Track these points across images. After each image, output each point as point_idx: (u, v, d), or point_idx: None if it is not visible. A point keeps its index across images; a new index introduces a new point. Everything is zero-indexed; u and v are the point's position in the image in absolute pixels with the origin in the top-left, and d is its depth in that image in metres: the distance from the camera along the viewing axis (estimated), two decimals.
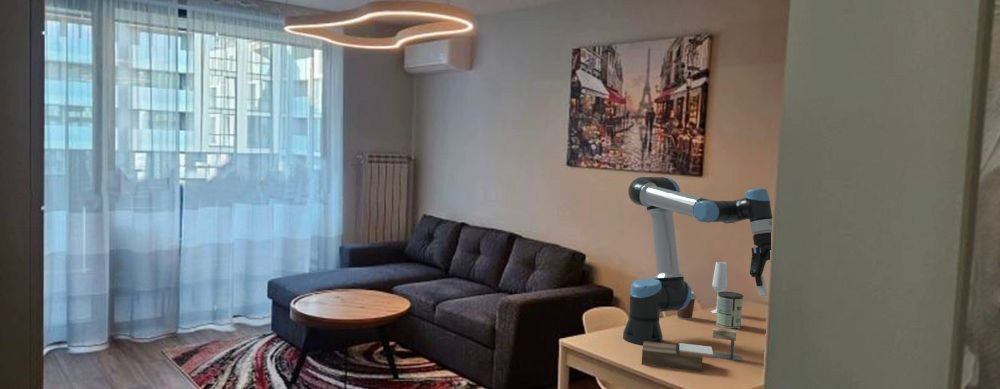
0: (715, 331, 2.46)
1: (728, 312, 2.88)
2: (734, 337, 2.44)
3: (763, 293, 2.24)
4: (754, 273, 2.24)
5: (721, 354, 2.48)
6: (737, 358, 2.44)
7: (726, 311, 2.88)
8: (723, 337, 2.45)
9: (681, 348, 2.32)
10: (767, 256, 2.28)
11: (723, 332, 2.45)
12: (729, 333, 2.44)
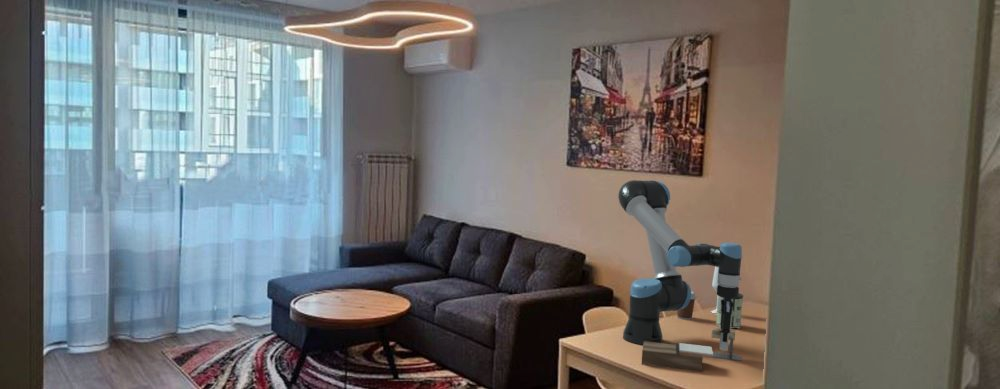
0: (714, 331, 2.46)
1: None
2: (733, 337, 2.44)
3: (725, 348, 2.44)
4: (727, 331, 2.41)
5: (720, 354, 2.48)
6: (736, 358, 2.44)
7: None
8: None
9: (681, 348, 2.32)
10: None
11: None
12: None
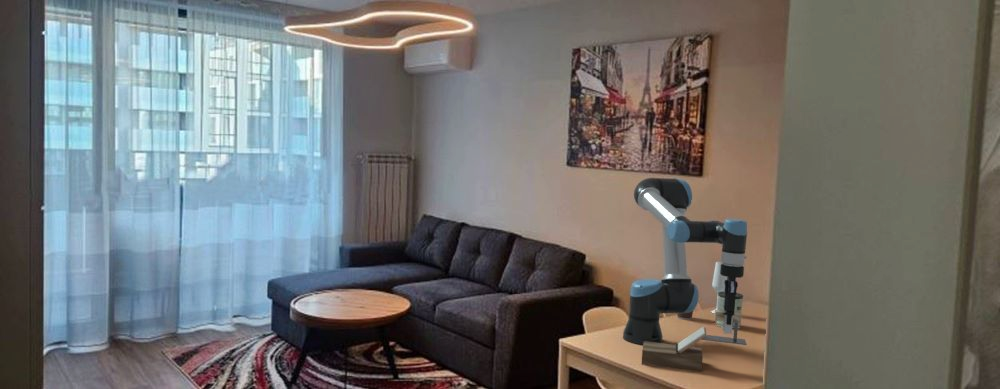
0: (717, 313, 2.30)
1: None
2: (738, 319, 2.28)
3: (729, 331, 2.28)
4: (731, 313, 2.25)
5: (724, 338, 2.32)
6: (741, 342, 2.28)
7: None
8: None
9: (679, 347, 2.33)
10: None
11: None
12: None
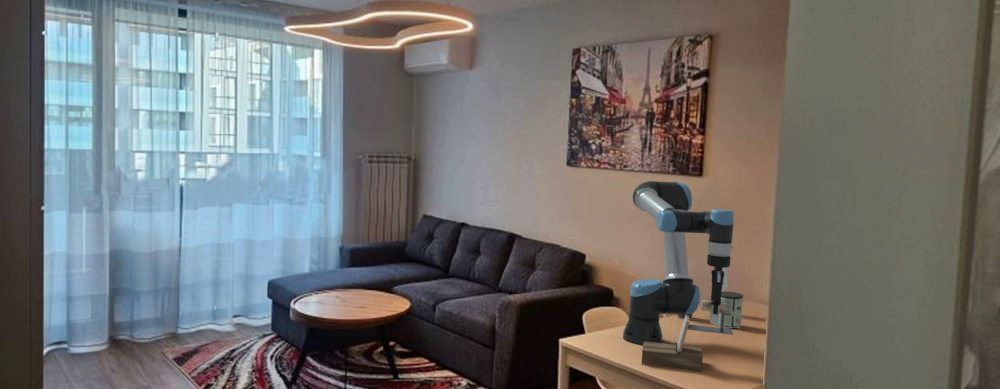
0: (704, 303, 2.30)
1: (728, 312, 2.88)
2: (724, 309, 2.29)
3: (716, 321, 2.29)
4: (718, 303, 2.26)
5: (711, 327, 2.33)
6: (727, 331, 2.29)
7: (726, 311, 2.88)
8: None
9: (677, 347, 2.33)
10: (722, 281, 2.28)
11: None
12: None
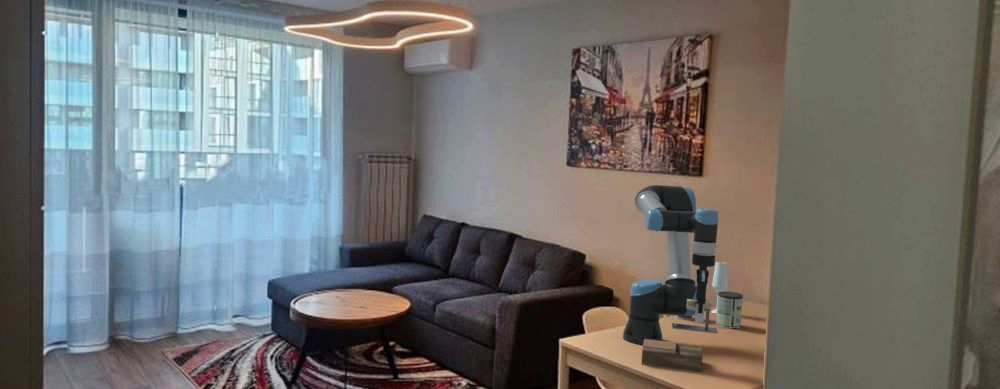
0: (689, 302, 2.32)
1: (728, 312, 2.88)
2: (709, 308, 2.30)
3: (701, 320, 2.30)
4: (702, 302, 2.27)
5: (696, 326, 2.35)
6: (712, 330, 2.31)
7: (726, 311, 2.88)
8: None
9: None
10: (707, 280, 2.30)
11: None
12: None
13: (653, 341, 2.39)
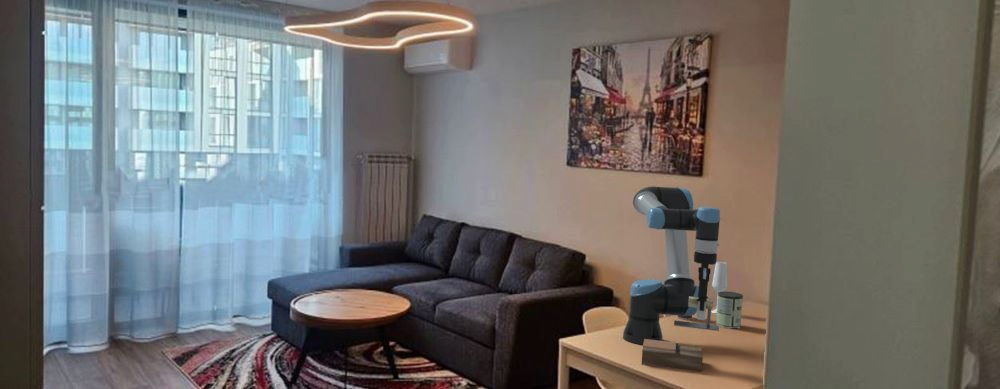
0: (691, 299, 2.34)
1: (728, 312, 2.88)
2: (711, 305, 2.32)
3: (702, 317, 2.32)
4: (704, 299, 2.29)
5: (697, 324, 2.36)
6: (714, 328, 2.32)
7: (726, 311, 2.88)
8: None
9: None
10: None
11: None
12: None
13: (653, 341, 2.39)
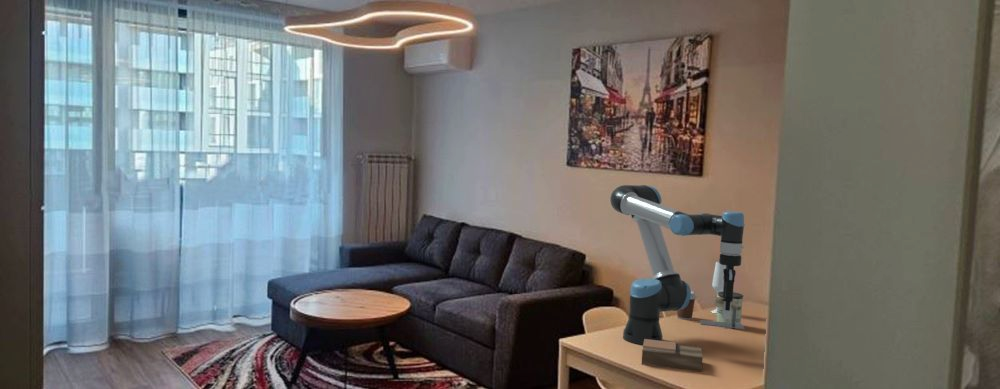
0: (717, 299, 2.45)
1: None
2: (736, 305, 2.43)
3: (728, 317, 2.43)
4: (730, 300, 2.40)
5: (723, 323, 2.47)
6: (739, 326, 2.43)
7: None
8: None
9: None
10: None
11: None
12: None
13: (653, 341, 2.39)
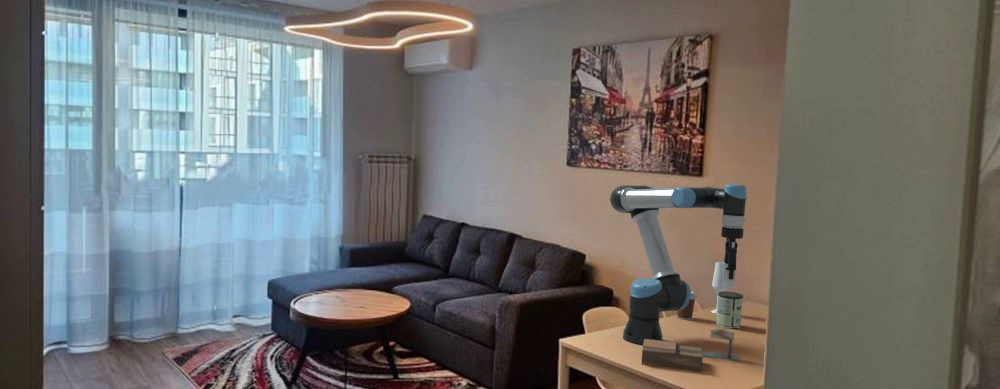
0: (713, 331, 2.46)
1: (728, 312, 2.88)
2: (732, 337, 2.44)
3: (731, 286, 2.38)
4: (733, 268, 2.35)
5: (719, 354, 2.48)
6: (735, 358, 2.44)
7: (726, 311, 2.88)
8: (721, 337, 2.45)
9: None
10: None
11: (721, 332, 2.45)
12: (727, 333, 2.45)
13: (653, 341, 2.39)
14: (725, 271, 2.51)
